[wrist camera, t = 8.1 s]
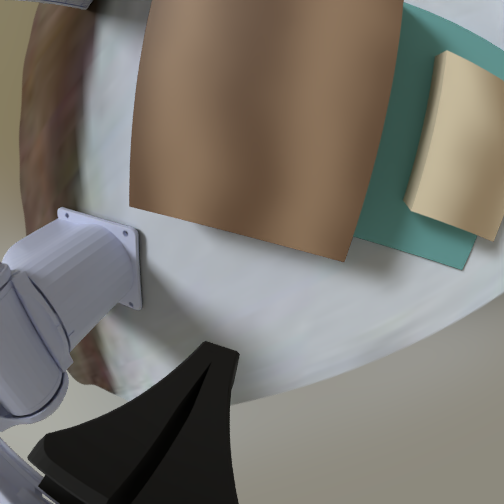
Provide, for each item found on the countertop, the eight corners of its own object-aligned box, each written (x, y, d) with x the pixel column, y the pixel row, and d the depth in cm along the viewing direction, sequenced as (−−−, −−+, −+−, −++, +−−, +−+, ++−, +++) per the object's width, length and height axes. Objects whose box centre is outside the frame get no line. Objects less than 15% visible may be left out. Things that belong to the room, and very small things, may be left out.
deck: (164, 188, 19) (129, 206, 16) (195, -21, 12) (164, -43, 8) (342, 231, 17) (344, 262, 14) (391, 0, 10) (405, -27, 7)
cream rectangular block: (493, 241, 12) (480, 229, 14) (530, 99, 8) (513, 98, 10) (411, 210, 13) (402, 200, 15) (446, 50, 9) (434, 56, 11)
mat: (347, 232, 17) (347, 234, 17) (396, 1, 10) (397, 0, 10) (460, 267, 16) (461, 269, 16) (515, 60, 9) (517, 60, 9)
